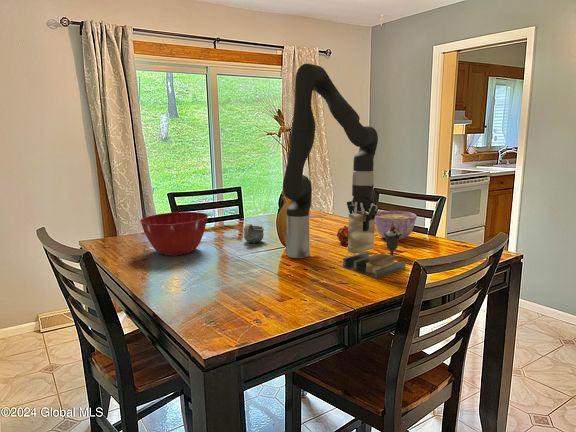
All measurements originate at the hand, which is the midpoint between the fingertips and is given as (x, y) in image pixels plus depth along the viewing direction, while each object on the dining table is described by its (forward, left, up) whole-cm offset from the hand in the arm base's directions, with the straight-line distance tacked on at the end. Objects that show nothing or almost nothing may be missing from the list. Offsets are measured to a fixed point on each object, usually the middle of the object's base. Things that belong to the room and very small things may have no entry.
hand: (361, 230), depth 153 cm
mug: (-58, -8, -15) cm, 61 cm away
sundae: (+1, +18, -15) cm, 23 cm away
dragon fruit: (-28, +23, -15) cm, 39 cm away
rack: (+5, 0, -15) cm, 15 cm away
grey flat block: (+10, 0, -13) cm, 16 cm away
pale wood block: (0, 0, -8) cm, 8 cm away
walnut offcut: (+10, 0, -10) cm, 14 cm away
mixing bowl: (-69, -41, -15) cm, 82 cm away
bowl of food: (-19, +46, -15) cm, 52 cm away
